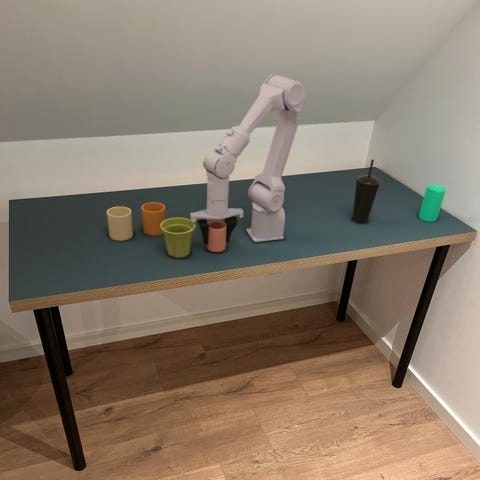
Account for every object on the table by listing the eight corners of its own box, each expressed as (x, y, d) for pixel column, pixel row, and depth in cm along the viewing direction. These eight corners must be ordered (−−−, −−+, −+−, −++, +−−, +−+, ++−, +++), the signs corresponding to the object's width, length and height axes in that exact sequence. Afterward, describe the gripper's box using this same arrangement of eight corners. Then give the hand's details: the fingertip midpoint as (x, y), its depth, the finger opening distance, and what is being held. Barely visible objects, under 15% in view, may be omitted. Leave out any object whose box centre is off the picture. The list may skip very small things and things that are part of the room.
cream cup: (131, 228, 154) (129, 205, 149) (134, 239, 149) (132, 215, 144) (108, 231, 152) (105, 207, 147) (110, 241, 147) (108, 217, 142)
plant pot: (164, 263, 139) (163, 234, 134) (159, 246, 146) (157, 218, 141) (198, 259, 141) (198, 231, 136) (191, 243, 148) (191, 216, 143)
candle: (416, 218, 170) (426, 184, 163) (420, 212, 174) (430, 178, 167) (435, 223, 168) (445, 188, 161) (438, 216, 172) (449, 182, 165)
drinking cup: (371, 227, 163) (385, 165, 151) (347, 223, 164) (359, 162, 152) (371, 216, 169) (385, 157, 157) (348, 213, 170) (360, 154, 158)
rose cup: (222, 241, 149) (223, 219, 145) (228, 250, 145) (229, 228, 141) (204, 243, 148) (204, 221, 143) (209, 253, 143) (209, 230, 139)
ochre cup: (163, 224, 157) (162, 201, 153) (168, 234, 152) (167, 211, 148) (141, 226, 155) (139, 203, 151) (145, 236, 150) (143, 213, 146)
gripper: (238, 189, 142) (236, 232, 150) (187, 193, 138) (188, 237, 146) (246, 199, 137) (243, 244, 145) (194, 203, 133) (194, 249, 141)
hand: (216, 241), depth 145 cm, fingers closed on rose cup, 5 cm apart
